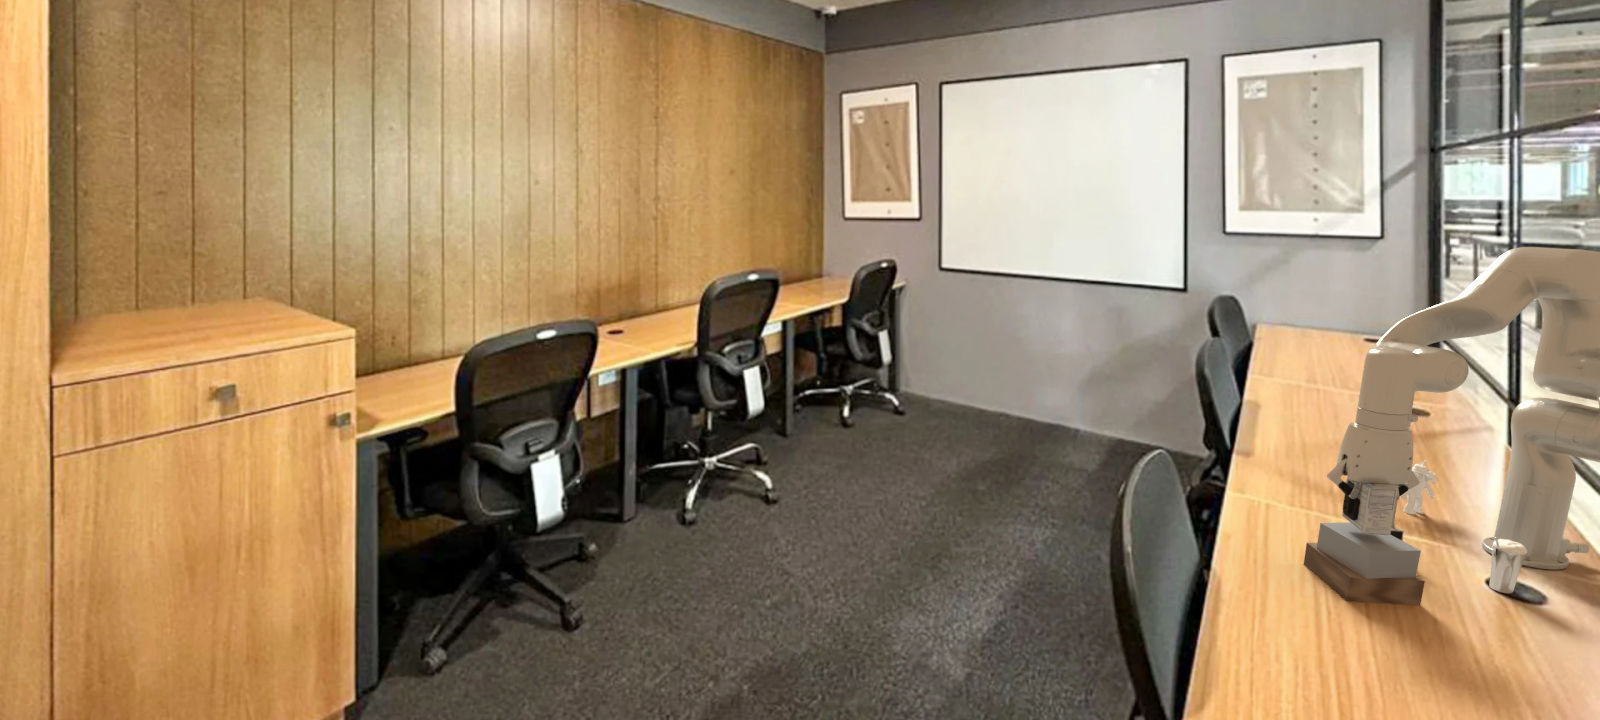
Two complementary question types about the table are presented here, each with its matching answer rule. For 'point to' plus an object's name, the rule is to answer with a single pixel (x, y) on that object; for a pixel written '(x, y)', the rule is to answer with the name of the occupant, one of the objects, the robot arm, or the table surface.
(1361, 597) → the lower block
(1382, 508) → the medicine box
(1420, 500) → the blocky character figurine
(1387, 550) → the upper block
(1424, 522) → the table surface
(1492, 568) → the milkshake
